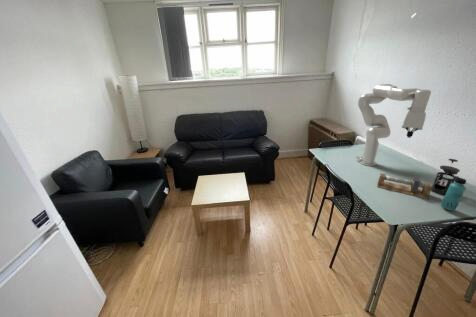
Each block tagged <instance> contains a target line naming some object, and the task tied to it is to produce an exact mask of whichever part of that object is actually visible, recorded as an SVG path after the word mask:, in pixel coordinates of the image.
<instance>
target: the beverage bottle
mask: <svg viewBox="0 0 476 317" xmlns="http://www.w3.org/2000/svg"><path fill="white" fill-rule="evenodd" d="M455 182H456V183H455ZM466 183H467V179H465V178H462V177H460V178H456V179H455V181H454V183H451V184H450V186H449V188H448V190H447V192H446V194H445V195H443V199H442V201H441V202H440V207H442V208H443V209H446V210H449V211H455V210H457V208H458V206H459V204H460V202H461V200H462V197H463V195H464V193H465V191H466V189H467V186H465V185H466Z"/></svg>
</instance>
